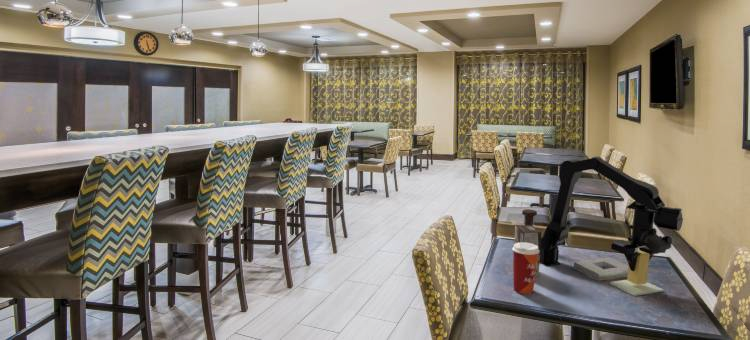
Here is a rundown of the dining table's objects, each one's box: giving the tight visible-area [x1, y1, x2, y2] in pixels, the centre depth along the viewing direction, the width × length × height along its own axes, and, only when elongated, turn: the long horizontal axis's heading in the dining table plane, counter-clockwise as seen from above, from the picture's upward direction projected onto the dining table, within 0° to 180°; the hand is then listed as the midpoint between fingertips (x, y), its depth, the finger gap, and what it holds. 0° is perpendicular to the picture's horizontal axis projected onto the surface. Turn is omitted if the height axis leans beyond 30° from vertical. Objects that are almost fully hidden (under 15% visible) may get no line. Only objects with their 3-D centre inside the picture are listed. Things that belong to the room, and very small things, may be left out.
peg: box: [626, 249, 650, 285], centre depth 157 cm, size 4×4×10 cm
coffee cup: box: [511, 242, 540, 295], centre depth 154 cm, size 8×8×15 cm
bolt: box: [521, 208, 537, 227], centre depth 197 cm, size 6×5×15 cm
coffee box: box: [513, 224, 542, 278], centre depth 169 cm, size 9×6×16 cm
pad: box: [609, 279, 664, 297], centre depth 158 cm, size 12×10×1 cm
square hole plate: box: [573, 257, 629, 282], centre depth 171 cm, size 16×12×2 cm
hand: (637, 270), depth 157 cm, fingers closed on peg, 4 cm apart
